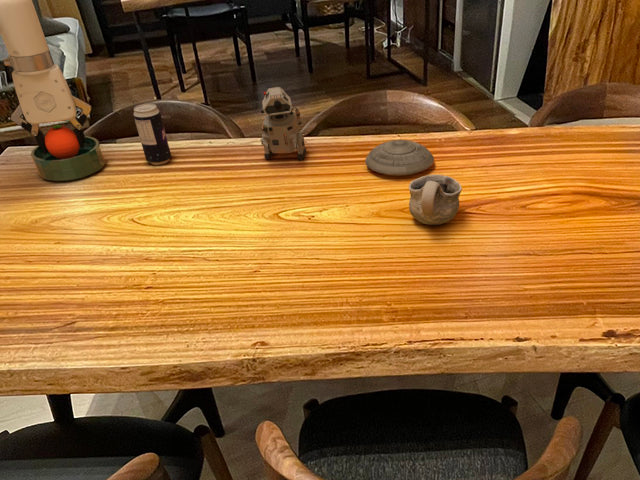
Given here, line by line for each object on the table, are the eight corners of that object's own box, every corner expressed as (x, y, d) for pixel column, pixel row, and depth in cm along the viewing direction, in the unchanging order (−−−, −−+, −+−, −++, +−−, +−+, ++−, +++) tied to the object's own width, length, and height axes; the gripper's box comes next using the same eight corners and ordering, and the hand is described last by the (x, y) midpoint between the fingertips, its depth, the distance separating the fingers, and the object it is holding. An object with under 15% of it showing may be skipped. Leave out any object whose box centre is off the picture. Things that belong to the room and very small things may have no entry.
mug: (458, 208, 121) (462, 158, 114) (461, 241, 112) (464, 188, 105) (409, 208, 122) (409, 158, 115) (407, 241, 112) (407, 188, 106)
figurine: (259, 171, 137) (247, 100, 127) (270, 150, 145) (260, 82, 135) (299, 171, 136) (291, 100, 126) (308, 150, 145) (301, 82, 135)
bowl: (37, 187, 134) (28, 165, 131) (42, 162, 144) (33, 141, 141) (106, 176, 137) (98, 154, 134) (105, 153, 147) (98, 132, 144)
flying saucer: (378, 149, 144) (377, 125, 140) (441, 156, 140) (442, 131, 136) (355, 176, 133) (354, 151, 130) (422, 184, 129) (423, 158, 126)
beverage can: (173, 163, 142) (160, 109, 134) (148, 168, 140) (132, 113, 132) (170, 154, 146) (156, 101, 138) (145, 158, 144) (130, 105, 136)
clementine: (52, 153, 141) (40, 121, 136) (84, 148, 143) (73, 117, 138) (50, 166, 135) (37, 134, 131) (84, 162, 137) (72, 129, 132)
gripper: (-17, 72, 121) (21, 161, 133) (77, 61, 125) (105, 148, 137) (-12, 62, 127) (24, 148, 138) (78, 52, 130) (105, 136, 142)
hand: (64, 148), depth 137 cm, fingers closed on clementine, 7 cm apart
